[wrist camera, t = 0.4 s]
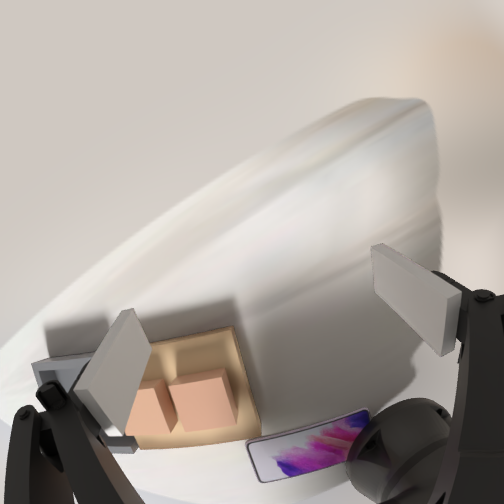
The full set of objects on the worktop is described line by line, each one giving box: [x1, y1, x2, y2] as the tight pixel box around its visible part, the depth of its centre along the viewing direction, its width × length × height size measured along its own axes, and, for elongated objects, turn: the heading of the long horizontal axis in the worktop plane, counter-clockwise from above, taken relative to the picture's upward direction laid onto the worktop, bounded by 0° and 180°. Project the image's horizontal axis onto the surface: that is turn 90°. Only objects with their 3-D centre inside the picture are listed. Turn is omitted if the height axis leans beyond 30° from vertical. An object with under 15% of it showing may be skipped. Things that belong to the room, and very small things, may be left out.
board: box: [134, 326, 261, 450], centre depth 28 cm, size 12×14×3 cm
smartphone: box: [245, 407, 371, 483], centre depth 28 cm, size 7×1×15 cm
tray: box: [31, 352, 139, 454], centre depth 27 cm, size 12×11×4 cm
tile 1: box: [125, 379, 178, 436], centre depth 25 cm, size 5×5×3 cm
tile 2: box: [169, 368, 238, 432], centre depth 25 cm, size 5×5×3 cm
